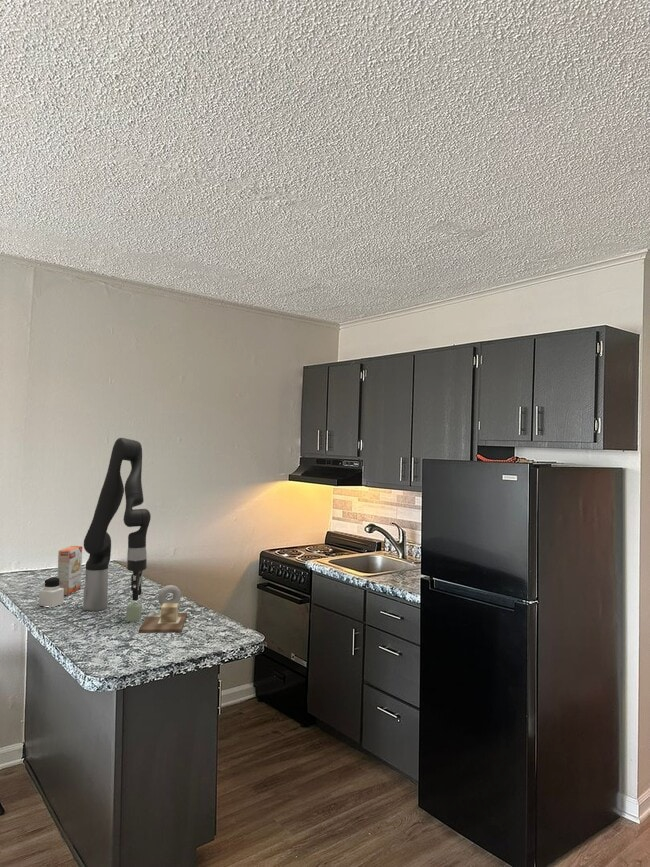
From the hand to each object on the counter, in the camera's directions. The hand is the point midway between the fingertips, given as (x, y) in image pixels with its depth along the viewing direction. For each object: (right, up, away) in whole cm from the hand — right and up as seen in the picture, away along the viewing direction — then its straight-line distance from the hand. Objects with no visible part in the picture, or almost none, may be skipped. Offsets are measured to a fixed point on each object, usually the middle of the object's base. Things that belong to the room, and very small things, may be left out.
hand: (136, 597), depth 251 cm
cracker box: (-44, -8, +39) cm, 60 cm away
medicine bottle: (-42, -8, +17) cm, 46 cm away
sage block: (-1, -9, -1) cm, 9 cm away
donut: (+9, -9, +18) cm, 22 cm away
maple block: (+15, -8, -5) cm, 17 cm away
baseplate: (+13, -9, -5) cm, 16 cm away
